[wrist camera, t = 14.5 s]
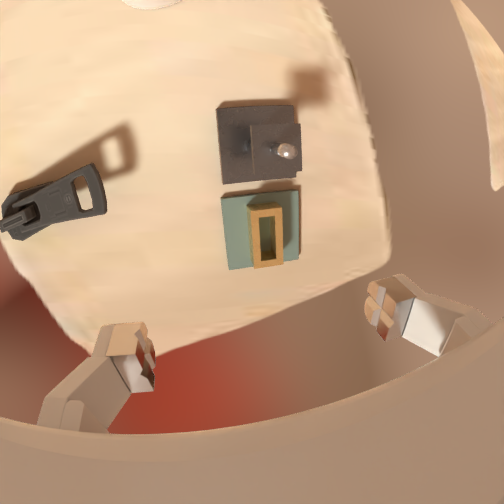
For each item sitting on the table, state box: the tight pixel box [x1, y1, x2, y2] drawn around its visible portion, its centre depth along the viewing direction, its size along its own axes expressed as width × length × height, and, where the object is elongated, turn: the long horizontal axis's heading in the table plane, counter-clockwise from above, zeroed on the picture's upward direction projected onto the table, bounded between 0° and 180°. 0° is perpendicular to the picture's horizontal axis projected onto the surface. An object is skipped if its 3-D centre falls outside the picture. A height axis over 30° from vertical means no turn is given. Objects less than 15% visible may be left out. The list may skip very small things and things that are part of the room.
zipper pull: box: [0, 163, 107, 241], centre depth 35 cm, size 9×7×25 cm
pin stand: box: [216, 105, 302, 185], centre depth 35 cm, size 12×12×16 cm
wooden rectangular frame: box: [246, 202, 283, 269], centre depth 46 cm, size 10×5×4 cm, turn 3°
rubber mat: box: [221, 190, 299, 270], centre depth 48 cm, size 13×13×1 cm
